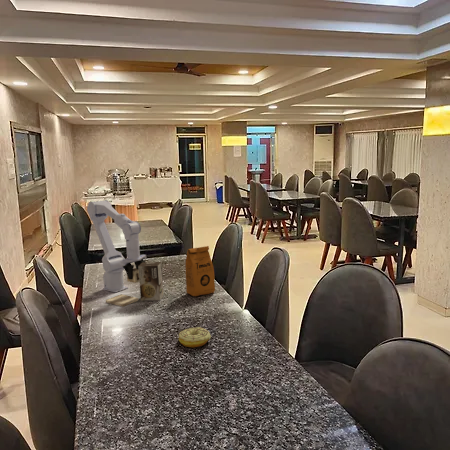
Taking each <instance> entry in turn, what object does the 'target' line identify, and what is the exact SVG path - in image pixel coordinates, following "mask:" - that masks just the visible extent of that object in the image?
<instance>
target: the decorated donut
mask: <svg viewBox="0 0 450 450" xmlns="http://www.w3.org/2000/svg"><path fill="white" fill-rule="evenodd" d="M210 333H211V332H209V331H208V330H207V329H205V328H203V327H200V326H199V327H188V328H186V329H184V330H181V331H180V332H179V333H178V341H179V343H180V344H182V345H183V347H186V348H187V347H188V348H197V347H198V348H199V347H202V346H204V345H206V344H207V343H208V341H209V340H210V339H211V338H212V335H211V334H210Z"/></svg>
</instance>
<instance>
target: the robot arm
mask: <svg viewBox="0 0 450 450" xmlns="http://www.w3.org/2000/svg"><path fill="white" fill-rule="evenodd" d="M86 211H87V214H88V216H89V219H90V221H92V225H93V226H94V227H93V228H94V230H95V232H96V234H97V237H98V239H99V242H100V244H101V247H102V249H103V253H104V255H103V256H102V259H101V262H102V268H103V271H105V272H104V273H103V275H102V276H103V277H102V278H103V288H102V290H104V291H106V292H107V291H108V292H112V293H119V292H120V291H121V292H122V291H123V290H126V289H128V288H129V287H128V286H125V282H124V281H125V280H124V271H125V273H126V277H127V276H128V279H133V269H134V268H137V269H138V266H139V265H140V264H141V263H142V262H146V259H147V254H141V253H140V251H141V250H140V238H139V235H140V233H141V232H142V227H141V224H140V223H139V222H138V221H134V220H131V219H130V218H129V217H128V216H127V215H126V214H125V213H119V212H118V211H117V210H116V209H115V208H114V207H113V206H112V203H111V202H110V201H109V200H107V199H104V200H98V201H89V202H88V203H87V209H86ZM108 217H109V218H111V219H112V220H114V224H115V226H118V227H119V228H120V229H121V230H122V234H123V236H124V240H125V244H126V247H125V248H126V258H125V257H124V256H123V254H122V252H121V251H118V250H116V247H115V244H114V243H113V240H112V237H111V234H110V233H109V230H108V228H107V224H106V223H105V220H106V219H107V218H108ZM133 263H134V264H133Z"/></svg>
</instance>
